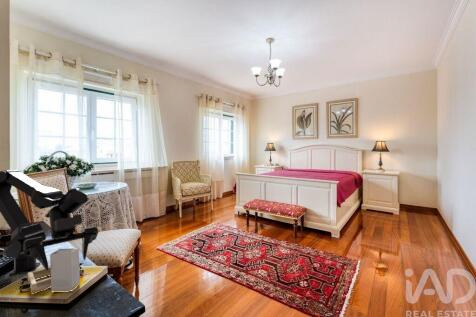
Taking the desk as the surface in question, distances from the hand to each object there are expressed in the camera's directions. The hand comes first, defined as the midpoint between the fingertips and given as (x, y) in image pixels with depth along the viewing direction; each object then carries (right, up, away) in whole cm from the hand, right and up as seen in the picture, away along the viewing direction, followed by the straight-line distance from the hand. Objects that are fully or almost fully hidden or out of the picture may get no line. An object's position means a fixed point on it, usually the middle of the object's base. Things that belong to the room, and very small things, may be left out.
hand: (67, 264), depth 68 cm
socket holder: (-9, -8, +4) cm, 12 cm away
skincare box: (-1, -8, 0) cm, 8 cm away
